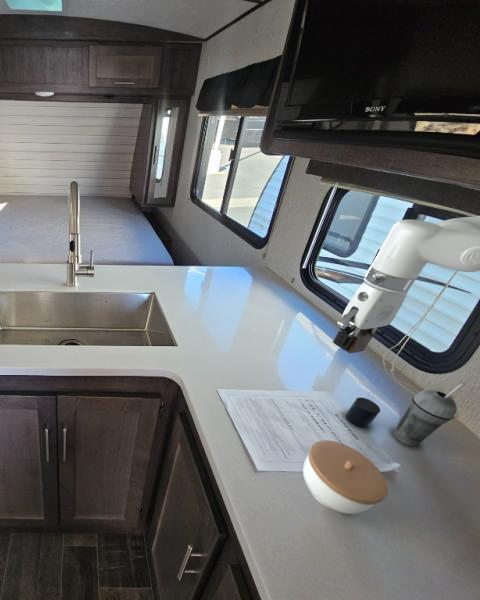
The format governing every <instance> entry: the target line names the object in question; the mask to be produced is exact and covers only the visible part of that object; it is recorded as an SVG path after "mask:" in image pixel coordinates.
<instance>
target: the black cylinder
mask: <svg viewBox="0 0 480 600" xmlns="http://www.w3.org/2000/svg"><path fill="white" fill-rule="evenodd" d="M380 412H381V408H380V406H379V405H378V404H377V403H376V402H374V401H373V400H371V399H369V398H366V397H361V396H359V397H356V398H355V400H354V402H353V403H352V404H351V406H350V407H349V408H348V410H347V411H346V413H345V418H346V420H347V421H348V422H349V423H350V424H351V425H353V426H355V427H357V428H360V429H367V428H369V427H370V426H371V424H372V423H373V421H374V420H375V419H376V418H377V417H378V415H379V414H380Z"/></svg>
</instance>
